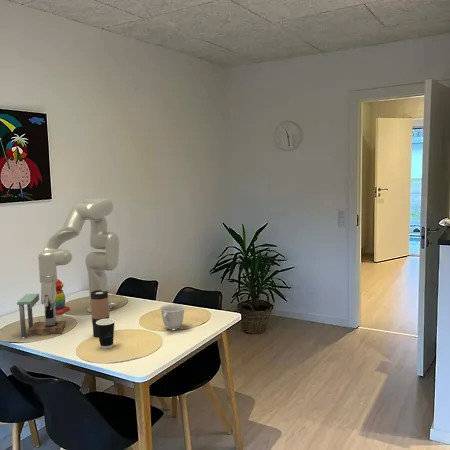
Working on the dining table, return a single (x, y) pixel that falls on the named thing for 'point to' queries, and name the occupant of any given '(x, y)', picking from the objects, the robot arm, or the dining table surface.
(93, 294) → the travel mug
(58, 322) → the socket block
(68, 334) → the dining table surface
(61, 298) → the rainbow stacking rings
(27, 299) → the green topped stand
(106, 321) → the dixie cup
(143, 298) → the dining table surface
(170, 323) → the teacup
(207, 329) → the dining table surface
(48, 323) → the peg
